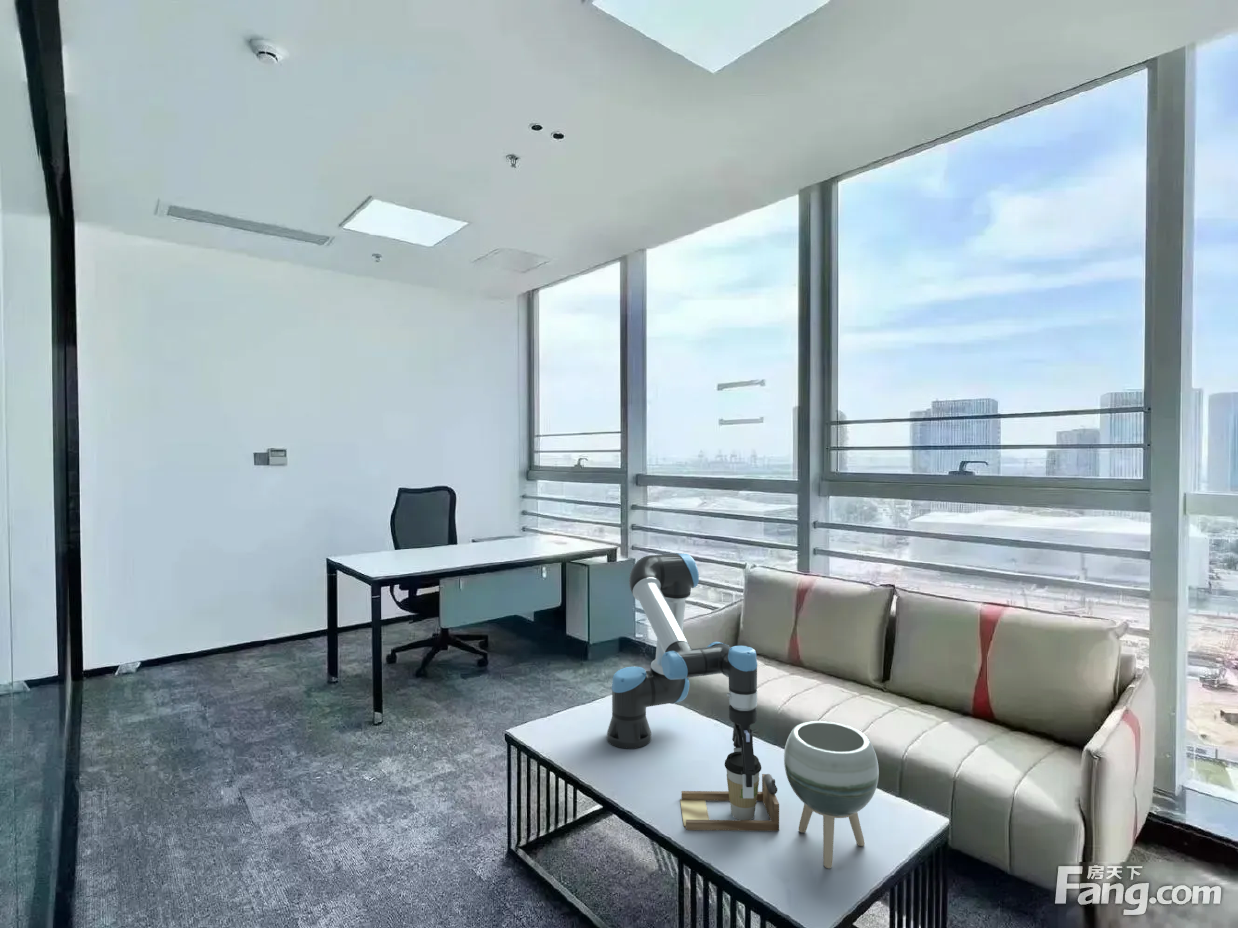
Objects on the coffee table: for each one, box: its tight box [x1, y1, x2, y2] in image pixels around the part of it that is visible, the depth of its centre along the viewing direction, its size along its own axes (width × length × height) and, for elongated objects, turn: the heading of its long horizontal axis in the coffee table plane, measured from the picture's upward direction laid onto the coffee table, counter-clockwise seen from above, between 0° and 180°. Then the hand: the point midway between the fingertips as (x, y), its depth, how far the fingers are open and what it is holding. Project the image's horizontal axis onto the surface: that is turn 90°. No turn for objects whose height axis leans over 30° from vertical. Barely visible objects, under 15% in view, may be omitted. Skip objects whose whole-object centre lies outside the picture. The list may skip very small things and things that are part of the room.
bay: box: [679, 773, 780, 832], centre depth 167 cm, size 15×25×11 cm, turn 89°
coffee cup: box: [724, 751, 762, 820], centre depth 167 cm, size 10×10×15 cm
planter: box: [783, 720, 880, 869], centre depth 153 cm, size 22×22×28 cm
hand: (743, 783), depth 167 cm, fingers open, 13 cm apart
